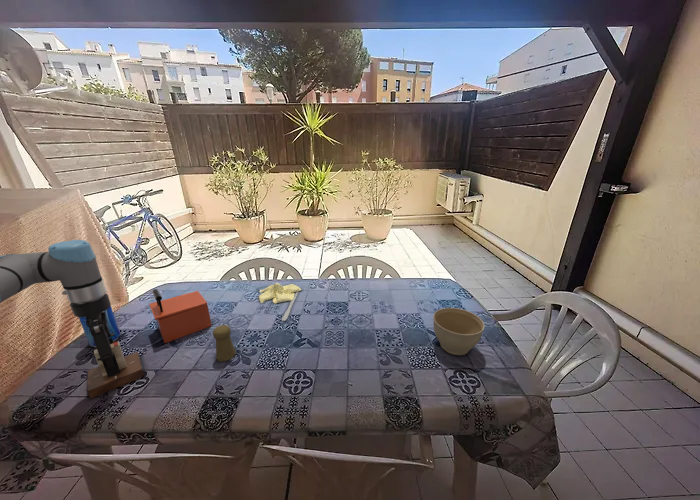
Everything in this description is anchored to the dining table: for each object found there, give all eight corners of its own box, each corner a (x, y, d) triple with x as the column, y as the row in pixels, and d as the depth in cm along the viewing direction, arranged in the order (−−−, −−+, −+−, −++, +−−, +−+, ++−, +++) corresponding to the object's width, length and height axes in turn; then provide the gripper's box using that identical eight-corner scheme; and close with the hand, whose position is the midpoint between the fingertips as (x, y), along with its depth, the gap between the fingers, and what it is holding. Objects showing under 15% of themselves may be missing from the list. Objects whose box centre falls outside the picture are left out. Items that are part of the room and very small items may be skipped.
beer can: (84, 345, 95) (69, 305, 89) (112, 331, 102) (99, 294, 97) (99, 352, 92) (83, 311, 86) (126, 337, 99) (113, 298, 94)
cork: (239, 352, 92) (235, 325, 88) (225, 364, 87) (220, 335, 83) (227, 347, 94) (222, 320, 90) (212, 358, 89) (206, 330, 85)
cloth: (304, 286, 137) (303, 275, 135) (292, 305, 120) (291, 292, 118) (262, 284, 140) (260, 273, 138) (245, 302, 123) (243, 290, 120)
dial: (102, 376, 78) (93, 353, 75) (102, 372, 79) (93, 349, 77) (126, 367, 81) (119, 344, 78) (126, 363, 83) (118, 340, 80)
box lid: (155, 320, 92) (150, 301, 89) (149, 305, 100) (145, 288, 98) (207, 304, 102) (204, 287, 100) (198, 292, 111) (195, 276, 109)
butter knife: (278, 320, 109) (285, 320, 108) (295, 289, 134) (300, 289, 134) (278, 321, 109) (286, 321, 109) (295, 290, 134) (301, 290, 134)
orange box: (164, 344, 96) (158, 320, 92) (158, 328, 104) (152, 306, 101) (211, 326, 106) (207, 304, 102) (202, 313, 114) (198, 292, 111)
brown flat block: (90, 399, 74) (87, 390, 73) (90, 378, 81) (87, 370, 80) (144, 376, 82) (141, 368, 81) (140, 359, 89) (137, 351, 88)
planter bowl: (480, 340, 98) (485, 314, 95) (477, 369, 85) (482, 340, 81) (435, 327, 105) (438, 303, 102) (425, 352, 92) (428, 325, 88)
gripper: (70, 288, 77) (95, 353, 85) (66, 320, 62) (97, 395, 70) (105, 280, 82) (126, 342, 89) (109, 308, 67) (133, 379, 75)
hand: (113, 365), depth 80 cm, fingers open, 8 cm apart
